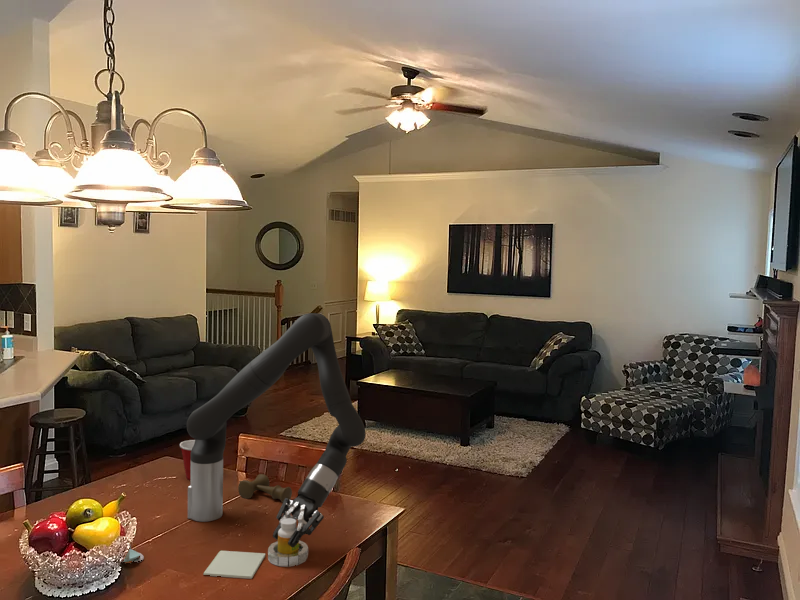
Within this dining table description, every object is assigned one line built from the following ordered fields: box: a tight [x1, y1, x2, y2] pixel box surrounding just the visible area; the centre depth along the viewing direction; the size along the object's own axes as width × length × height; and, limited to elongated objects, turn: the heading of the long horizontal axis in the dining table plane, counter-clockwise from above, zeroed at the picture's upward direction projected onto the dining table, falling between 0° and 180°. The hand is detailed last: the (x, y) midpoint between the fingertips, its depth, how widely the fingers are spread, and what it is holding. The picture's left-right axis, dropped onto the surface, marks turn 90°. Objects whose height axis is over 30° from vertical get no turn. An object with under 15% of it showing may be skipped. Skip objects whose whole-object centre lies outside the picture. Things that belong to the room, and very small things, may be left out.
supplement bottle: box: [277, 518, 299, 555], centre depth 170 cm, size 5×5×10 cm
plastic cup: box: [179, 439, 195, 481], centre depth 224 cm, size 11×11×12 cm
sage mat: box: [203, 550, 266, 580], centre depth 165 cm, size 12×12×1 cm
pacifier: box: [122, 545, 145, 563], centre depth 166 cm, size 7×6×6 cm
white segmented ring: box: [267, 539, 309, 568], centre depth 170 cm, size 10×10×2 cm
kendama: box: [237, 473, 293, 504], centre depth 211 cm, size 6×10×20 cm
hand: (282, 541), depth 168 cm, fingers closed on supplement bottle, 5 cm apart
